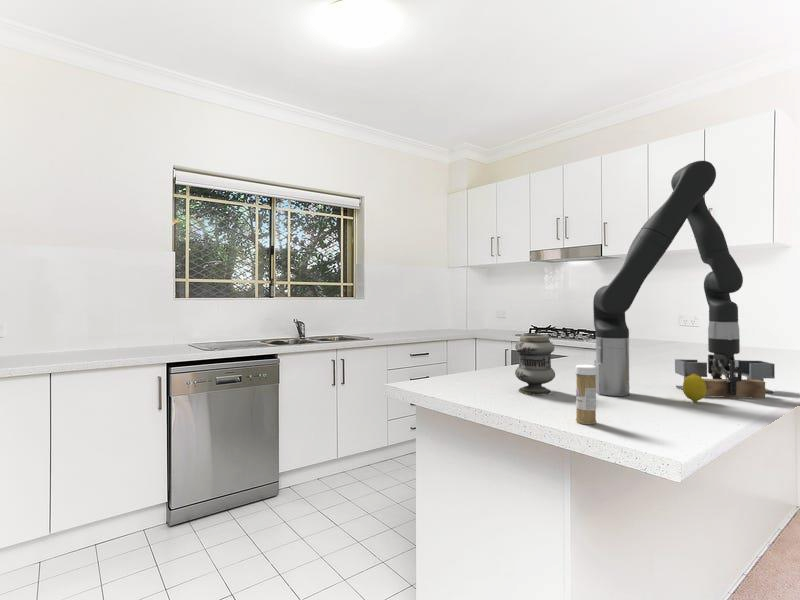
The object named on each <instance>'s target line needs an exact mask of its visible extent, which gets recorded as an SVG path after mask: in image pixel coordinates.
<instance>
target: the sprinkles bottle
mask: <svg viewBox="0 0 800 600" xmlns="http://www.w3.org/2000/svg"><path fill="white" fill-rule="evenodd" d="M575 375H576V382H575V383H576V390H575V400H576V401H575V402H576V403H575V407H576V409H575V410H576V413H575V414H576V417H575V422H576V423H579V424H580V425H595V424H597V420H596V418H597V416H596V415H597V412H596V411H597V392H596V366H594V364H593V365H591V364H577V365H576V366H575Z"/></svg>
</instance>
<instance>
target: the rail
mask: <svg viewBox="0 0 800 600" xmlns="http://www.w3.org/2000/svg"><path fill="white" fill-rule="evenodd" d="M702 379H703V380H704V381H705V384H706V395H705V396H724V397H723V398H731V397H752V398H751V399H766V393H765V389H766V382H765V380H764V381H760V380H747V379H743V378H742V381H738V382H736V395H735V396H732V395H727V385H726V382H727V380H726V378H722V379H713V378H702ZM684 380H685V378H684V377H683V381H684Z"/></svg>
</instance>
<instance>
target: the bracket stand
mask: <svg viewBox="0 0 800 600" xmlns="http://www.w3.org/2000/svg"><path fill="white" fill-rule="evenodd" d="M740 360H741V359H740ZM741 364H742V376H744V377H746V380H760V381H764V382H765V380H764V379H773V380H774V379H776V378H775V376H776V375H775V368H776V367H775V363H771V362H767V361H763V360H746V359H745V360H741ZM674 372H675V374H677V375H680V376H682V377H683V379H684V378H686V377H688V376H690V375H692V374H696V375H698V376H700V377H701V378H707V377H708V362H707V361H706V362H705V361H704V362H702V361H700V362H699V361H698V359H683V358H681V359H678V358H677V359H674ZM676 387H677V388H676ZM675 388H676V389H678V388H679V390H680V389H681V391H682V390H683V385H675ZM765 394H774V391H773V390H771V389H768V388H765Z"/></svg>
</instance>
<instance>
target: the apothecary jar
mask: <svg viewBox="0 0 800 600" xmlns="http://www.w3.org/2000/svg"><path fill="white" fill-rule="evenodd" d="M549 337H550V336H549V335H548V334H545V333H523V334H521V335H520V338H519V341H517V342H516V343H515V347H514V348H515V350H516V352H518V354H519V356H518V357H519V359H518V367H517V368H516V369H515V372H514V375H515V377H516V378H517V379H518V380H519V381H521V382H522V383H526V384H527V385H524V386H523V387H520V388H518V392H520V393H521V392H523V393H522V394H525V393H527V394H526V395H536V394H540V395H539V396H542V395H541V394H547V395H550V394H549V393H551V394H552V390H551V389H549V388H547V387H545V386H542V385H544V384H547V383H550V382H552V381H553V380H554V379H555V377H556V372H555V370H554V369H553V368H552V364H551V363H552V361H551V358H552V357H551V356H552V355H551V354H552V353H553V352H554V351H555V345H554V343H553V342H551V341H550V338H549Z"/></svg>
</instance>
